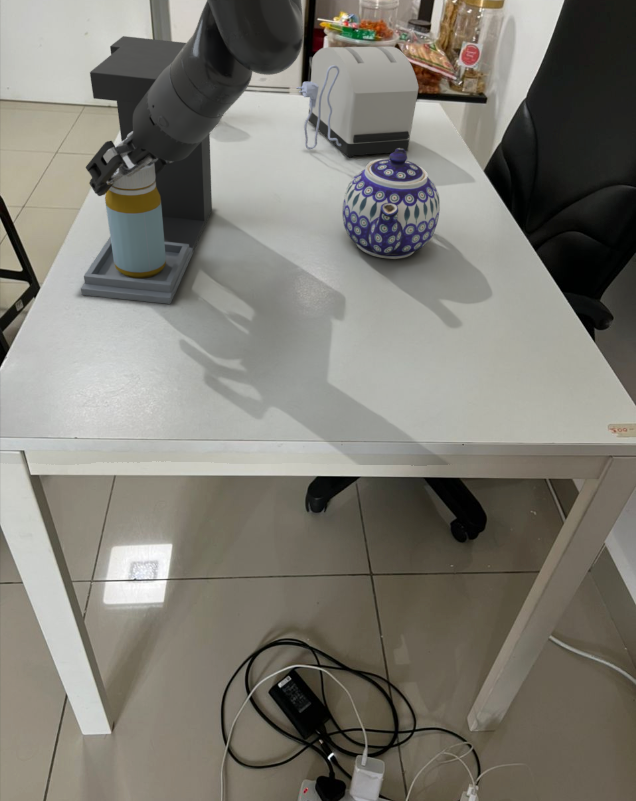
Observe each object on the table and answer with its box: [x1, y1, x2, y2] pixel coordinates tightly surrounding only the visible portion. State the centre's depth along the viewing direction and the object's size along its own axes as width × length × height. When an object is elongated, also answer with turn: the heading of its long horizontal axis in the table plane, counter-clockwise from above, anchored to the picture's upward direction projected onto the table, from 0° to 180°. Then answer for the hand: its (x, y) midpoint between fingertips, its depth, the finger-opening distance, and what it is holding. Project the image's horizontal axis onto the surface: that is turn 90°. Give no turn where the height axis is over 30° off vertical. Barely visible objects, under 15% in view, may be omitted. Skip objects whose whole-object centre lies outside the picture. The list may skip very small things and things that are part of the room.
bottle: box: [104, 156, 166, 278], centre depth 86 cm, size 7×7×15 cm
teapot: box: [342, 148, 441, 260], centre depth 99 cm, size 25×15×15 cm, turn 167°
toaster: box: [296, 45, 419, 158], centre depth 132 cm, size 23×25×17 cm
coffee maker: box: [80, 35, 213, 305], centre depth 89 cm, size 29×12×26 cm, turn 176°
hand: (123, 179), depth 83 cm, fingers open, 8 cm apart
